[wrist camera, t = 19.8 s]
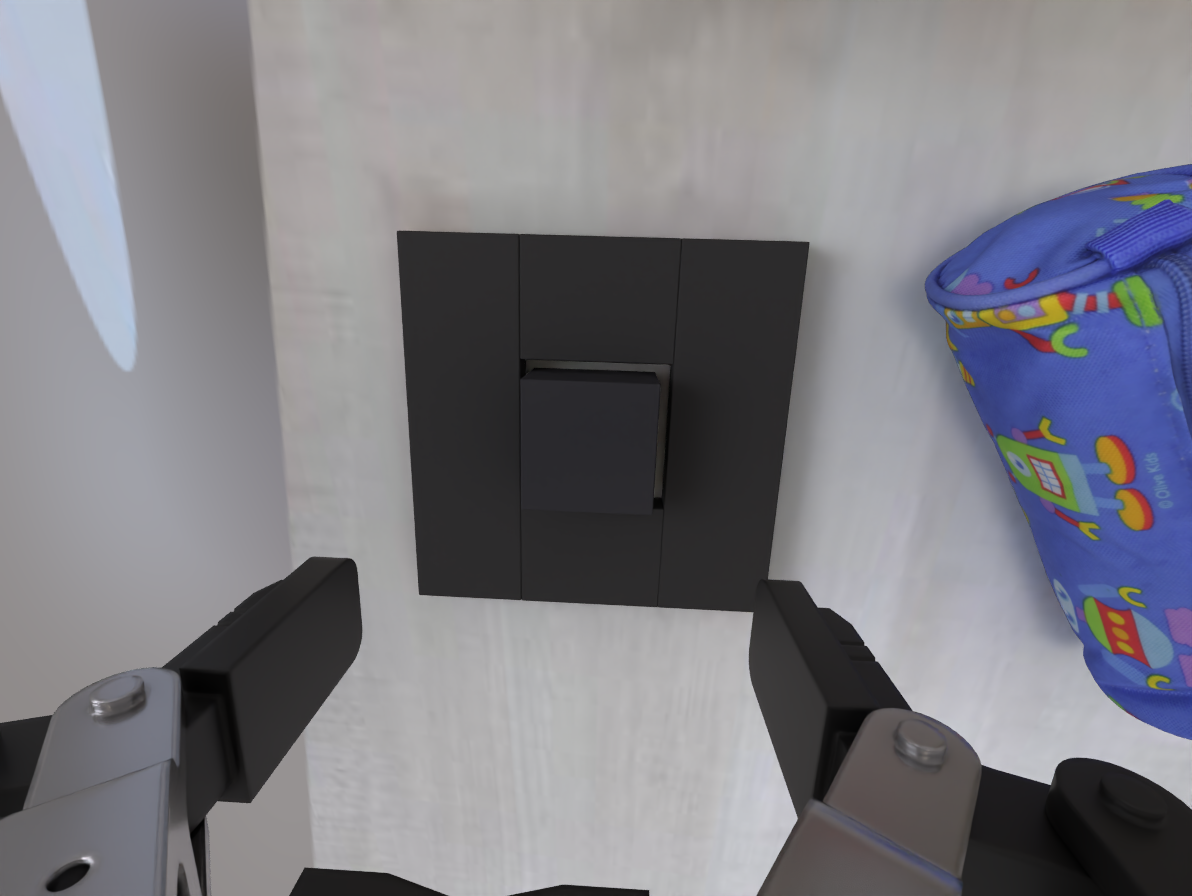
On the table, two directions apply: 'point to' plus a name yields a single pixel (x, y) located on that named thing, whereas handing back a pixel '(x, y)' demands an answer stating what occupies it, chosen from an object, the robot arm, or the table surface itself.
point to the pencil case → (1095, 414)
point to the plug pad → (589, 440)
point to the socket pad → (598, 334)
